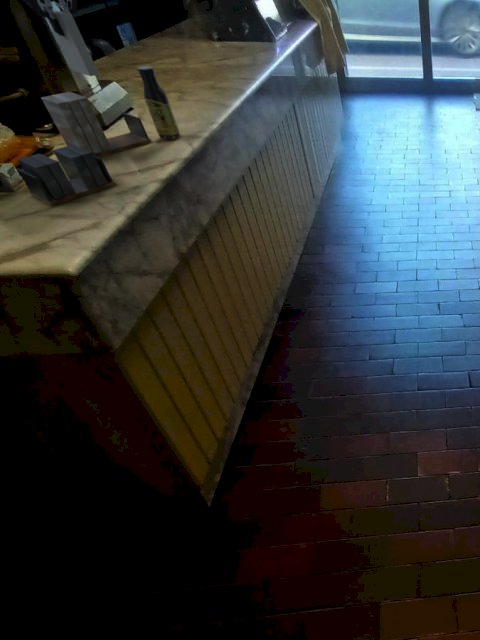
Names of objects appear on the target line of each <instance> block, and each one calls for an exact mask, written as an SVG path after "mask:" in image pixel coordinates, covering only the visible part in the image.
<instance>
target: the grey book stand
mask: <svg viewBox="0 0 480 640" xmlns="http://www.w3.org/2000/svg"><path fill="white" fill-rule="evenodd" d="M40 98H41V100H42V102H43V104H44V106H45V109H46V110H47V112H48V113H49V115H50V117H51V120H52V121H53V123H54V124H55V126H56V128H57V130H58V132H59V134H60V136H61V138H62V140H63V141H64V143H65V144H66V146H70V145H75V146H78V147H80V148H82V149H85V150H87V151H90V152H92V154H93V155H94V156H96V157H98V158H101V157H105V156H108V155H111V154H115V153H118V152H121V151H125V150H129V149H132V148H136V147H139V146H142V145H146V144H150V143H152V140H151V138H150V137H149V135H148V133H147V131H146V129H145V126H144V124H143V121H142V119H141V118H140V117H138V116H135V115H132V114H130V113H126V112H124V111H123V112H121V115H122V117H123V119H124V121H125V123H126V126H127V128H128V130H129V132H127V133H123V134H119V135H116V136H112V137H108V138H107V136H106V134H105V132H104V130H103V128H102V126H101V124H100V122H99V119H98V117H97V115H96V113H95V111H94V109H93V108H92V105H91V104H90V101H89V99H88V97H86V96H83V95H80V94H78V93H74V92H72V91H67V92H62V93H61V92H60V93H56V94H52V95H47V96H42V97H40Z"/></svg>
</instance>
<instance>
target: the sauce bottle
mask: <svg viewBox="0 0 480 640" xmlns="http://www.w3.org/2000/svg"><path fill="white" fill-rule="evenodd" d="M136 69H137V72H138V74H139V75H140V79H141V80H142V84H143V97H144V98H143V99H144V101H145V104H146V106H147V110H148V112H149V115H150V117H151V120H152V123H153V125H154V128H155V131H156V132H157V134H158V137H159V138H160V139H161V140H165V141H173V140H177V139H179V138H180V137H181V132H180V128H179V125H178V123H177V119H176V117H175V114H174V112H173V109H172V106H171V103H170V101H169V99H168V96H167V93H166V91H165V89H163V88H162V86H160V84H159V82H158V80H157V77H156V75H155V70H154V67H153V66H151V65H141V66H137V68H136Z"/></svg>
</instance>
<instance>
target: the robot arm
mask: <svg viewBox="0 0 480 640" xmlns="http://www.w3.org/2000/svg"><path fill="white" fill-rule="evenodd" d="M22 1H23V2H24V3H25V4H26V5H27V7H29V9H31V10H32V11H33V12H34V13H35V14H36V15H37V16H39V17H42V18H46V19H47V20H48V23H49V24H50V26H51V29H52V31H53V32H54V31H55V32H56V33H58V35H60V36H65V34H64V32H63V30H62V28H61V26H60V24H59V22H58V20H57V19H56V17H55V14H54V12H53V9H54V7H53V4H52V3H54V4H55V6H56V7H57V8H58V11H62V12H66V13H70V14H71V15H72V16H73V15H75V14H78V0H66V1H65V0H38V2H39V5H40V6H39V5H38V3H36V2H35V1H34V0H22ZM55 32H54V33H55Z"/></svg>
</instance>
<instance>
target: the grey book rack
mask: <svg viewBox="0 0 480 640" xmlns="http://www.w3.org/2000/svg"><path fill="white" fill-rule="evenodd" d="M52 151H53V154H54V155H55V157H56V158H57V160H55V159H54V158H52V157H49V156H46V155H44V154H42V153H36V154H32V155H29V156H24V157H21V158H17V161H18V163H19V164H20V166H21V167H22V168H21V169H20V168H16V171H17V173H18V174H19V176H20V177H21V179H22V180H23V182H24V184H25V186H26V187H27V189H28V190H29V194H30V196H31V197H33V198H34V199H37V200H39V201H41V202H43V203H45V204H47V205H49V206H50V207H54V206H57V205H60V204H63V203H66V202H70V201H73V200H75V199H79V198H82V197H85V196H88V195H90V194H94V193H97V192H100V191H103V190H107V189H109V188H112V187H115V186H117V184H116V182H115V181H114V180H113V178H112V176H111V175H110V172H109V170H108V168H107V167H106V164H105V162H104V161H103V159H102V158H101V157H96V156H94V155H93V154H92V152H90V151H87V150H85V149H82V148H80V147H78V146H75V145H70V146H67V145H66V146H63V147H58V148H55V149H52Z"/></svg>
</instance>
